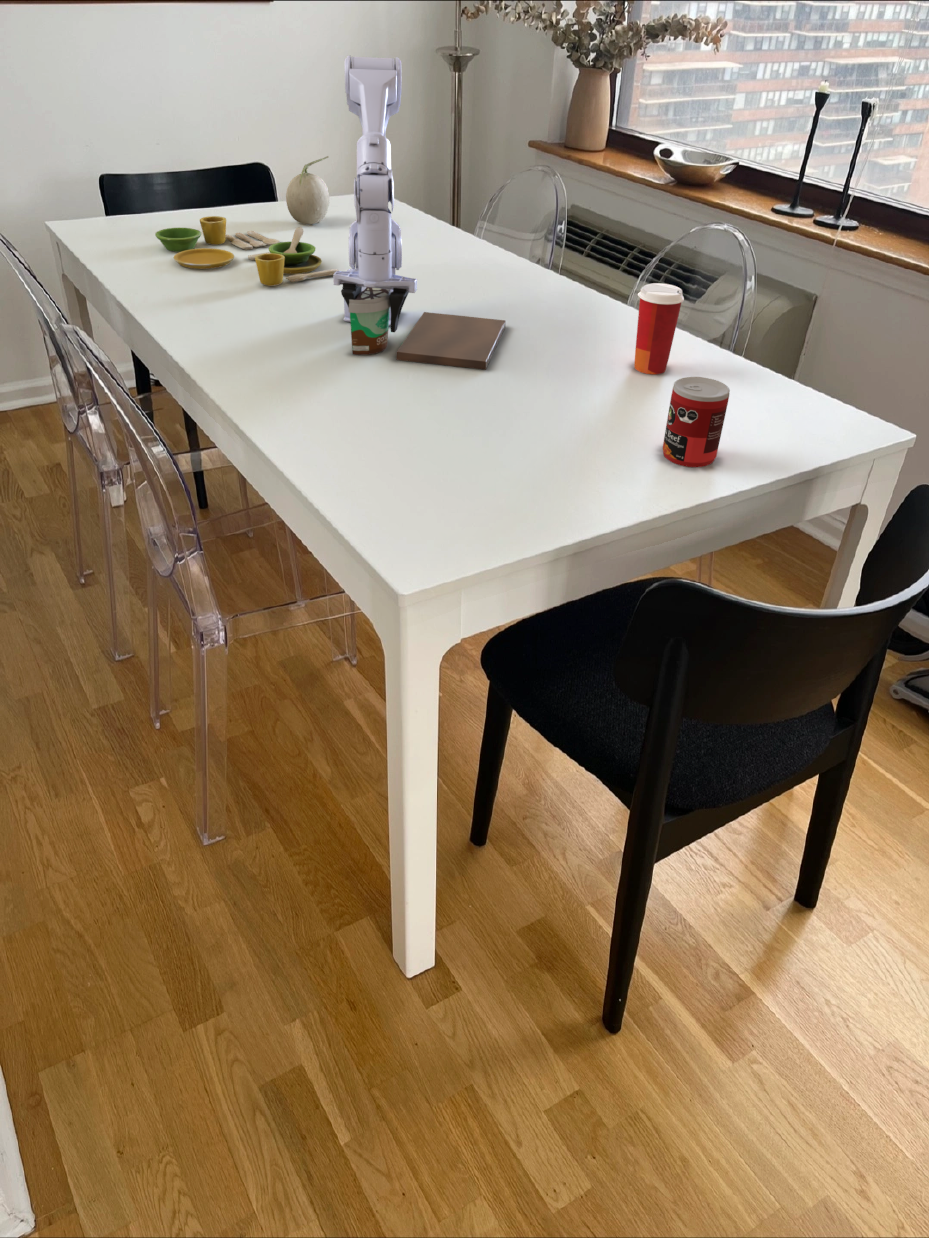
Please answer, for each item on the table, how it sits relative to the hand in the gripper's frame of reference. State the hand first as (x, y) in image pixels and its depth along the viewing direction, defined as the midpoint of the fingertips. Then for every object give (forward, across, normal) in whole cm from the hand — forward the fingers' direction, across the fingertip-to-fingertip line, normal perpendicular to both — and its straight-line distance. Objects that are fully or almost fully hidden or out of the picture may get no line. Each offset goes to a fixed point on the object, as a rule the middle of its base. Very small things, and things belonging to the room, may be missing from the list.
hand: (375, 328), depth 175 cm
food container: (+4, 0, 0) cm, 4 cm away
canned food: (+4, +56, -30) cm, 64 cm away
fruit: (+4, -38, +77) cm, 86 cm away
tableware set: (+4, -42, +42) cm, 59 cm away
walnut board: (+3, +13, +6) cm, 15 cm away
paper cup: (+4, +49, +4) cm, 49 cm away
